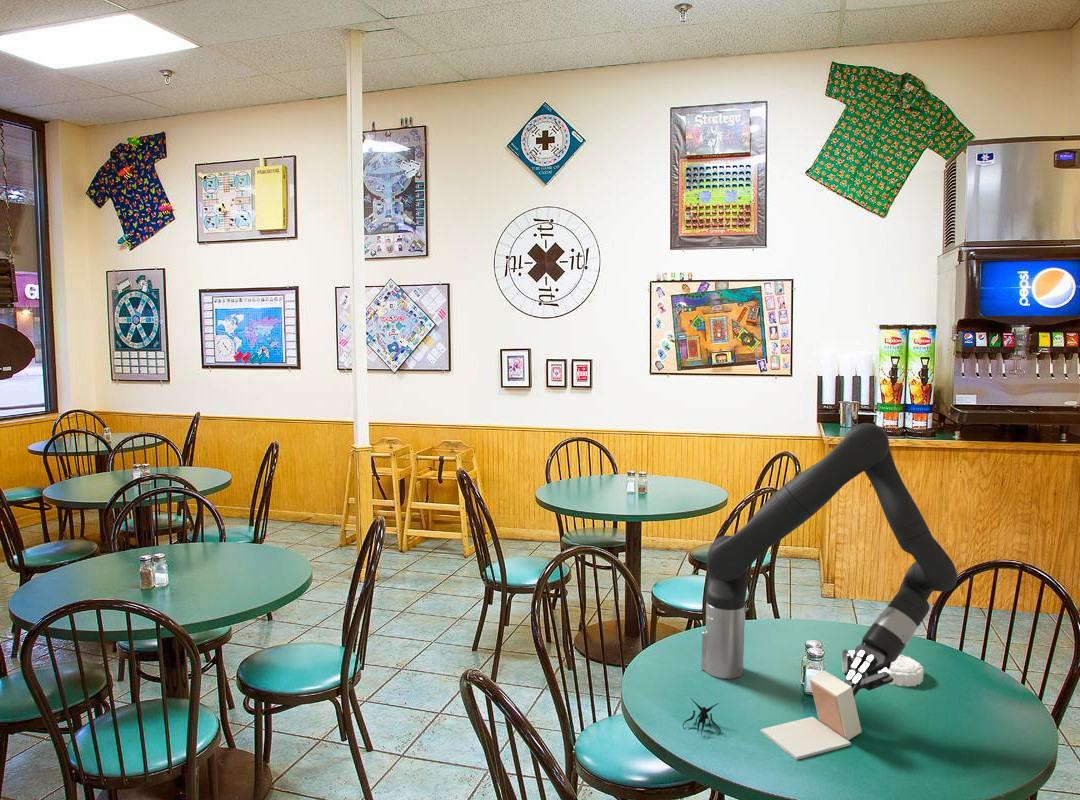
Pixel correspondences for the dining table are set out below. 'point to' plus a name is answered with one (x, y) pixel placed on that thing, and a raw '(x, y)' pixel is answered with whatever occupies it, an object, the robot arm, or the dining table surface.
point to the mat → (805, 737)
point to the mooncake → (906, 672)
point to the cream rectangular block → (835, 704)
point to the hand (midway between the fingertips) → (843, 698)
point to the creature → (702, 717)
